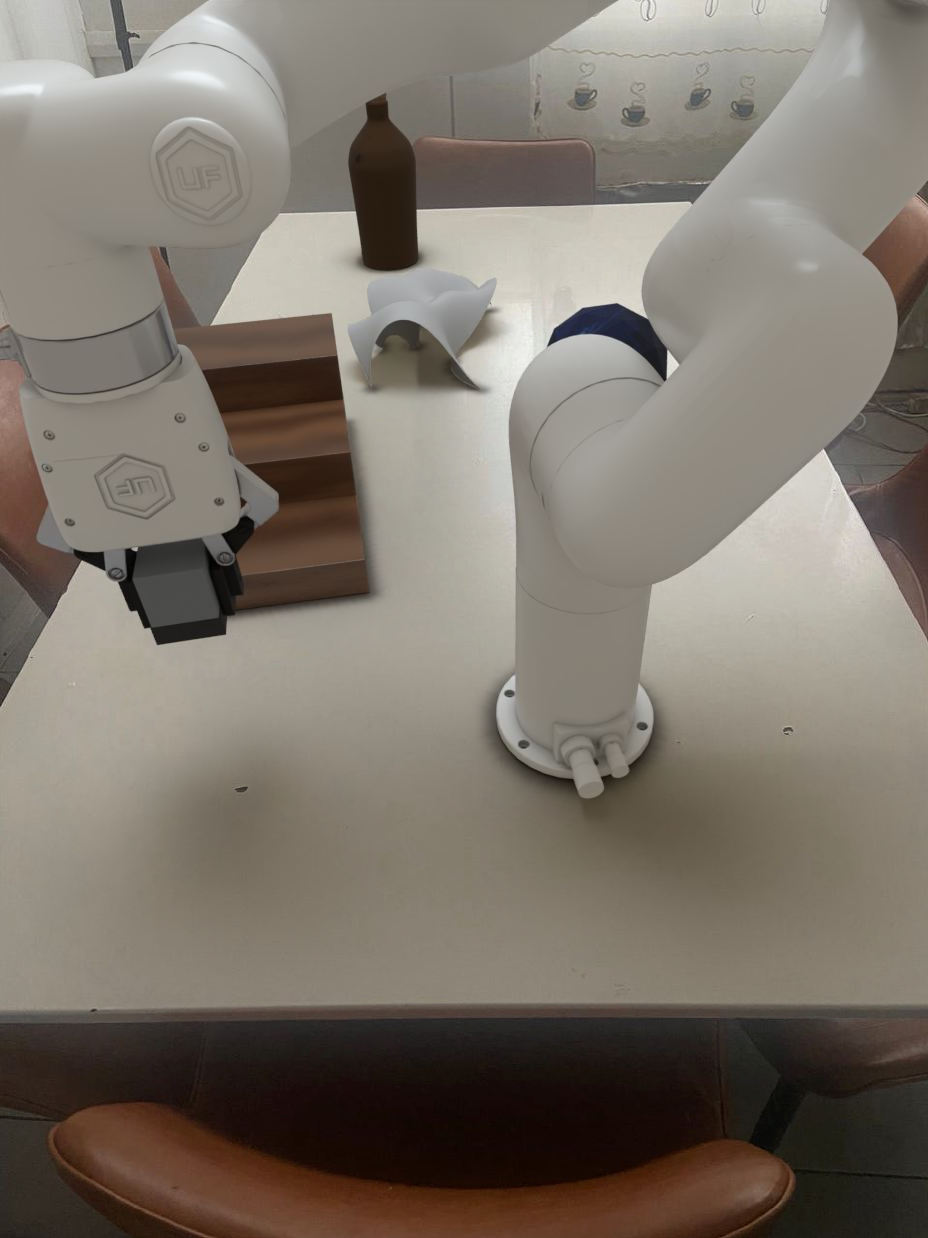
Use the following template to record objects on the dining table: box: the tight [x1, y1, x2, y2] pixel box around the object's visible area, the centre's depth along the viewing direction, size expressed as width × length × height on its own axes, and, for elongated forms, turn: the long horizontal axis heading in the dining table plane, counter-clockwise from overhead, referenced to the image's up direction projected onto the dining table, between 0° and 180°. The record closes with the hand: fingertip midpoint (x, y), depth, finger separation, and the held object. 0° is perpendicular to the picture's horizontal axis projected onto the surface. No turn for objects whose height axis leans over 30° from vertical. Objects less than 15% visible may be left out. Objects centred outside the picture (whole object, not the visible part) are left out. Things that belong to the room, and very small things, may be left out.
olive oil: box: [347, 92, 419, 271], centre depth 142 cm, size 11×11×25 cm
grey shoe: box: [133, 538, 228, 646], centre depth 58 cm, size 8×4×6 cm, turn 10°
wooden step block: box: [173, 312, 370, 611], centre depth 92 cm, size 33×18×14 cm, turn 9°
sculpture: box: [347, 267, 498, 390], centre depth 122 cm, size 25×19×10 cm
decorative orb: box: [545, 302, 668, 382], centre depth 102 cm, size 14×15×15 cm
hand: (191, 605), depth 58 cm, fingers closed on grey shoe, 4 cm apart
